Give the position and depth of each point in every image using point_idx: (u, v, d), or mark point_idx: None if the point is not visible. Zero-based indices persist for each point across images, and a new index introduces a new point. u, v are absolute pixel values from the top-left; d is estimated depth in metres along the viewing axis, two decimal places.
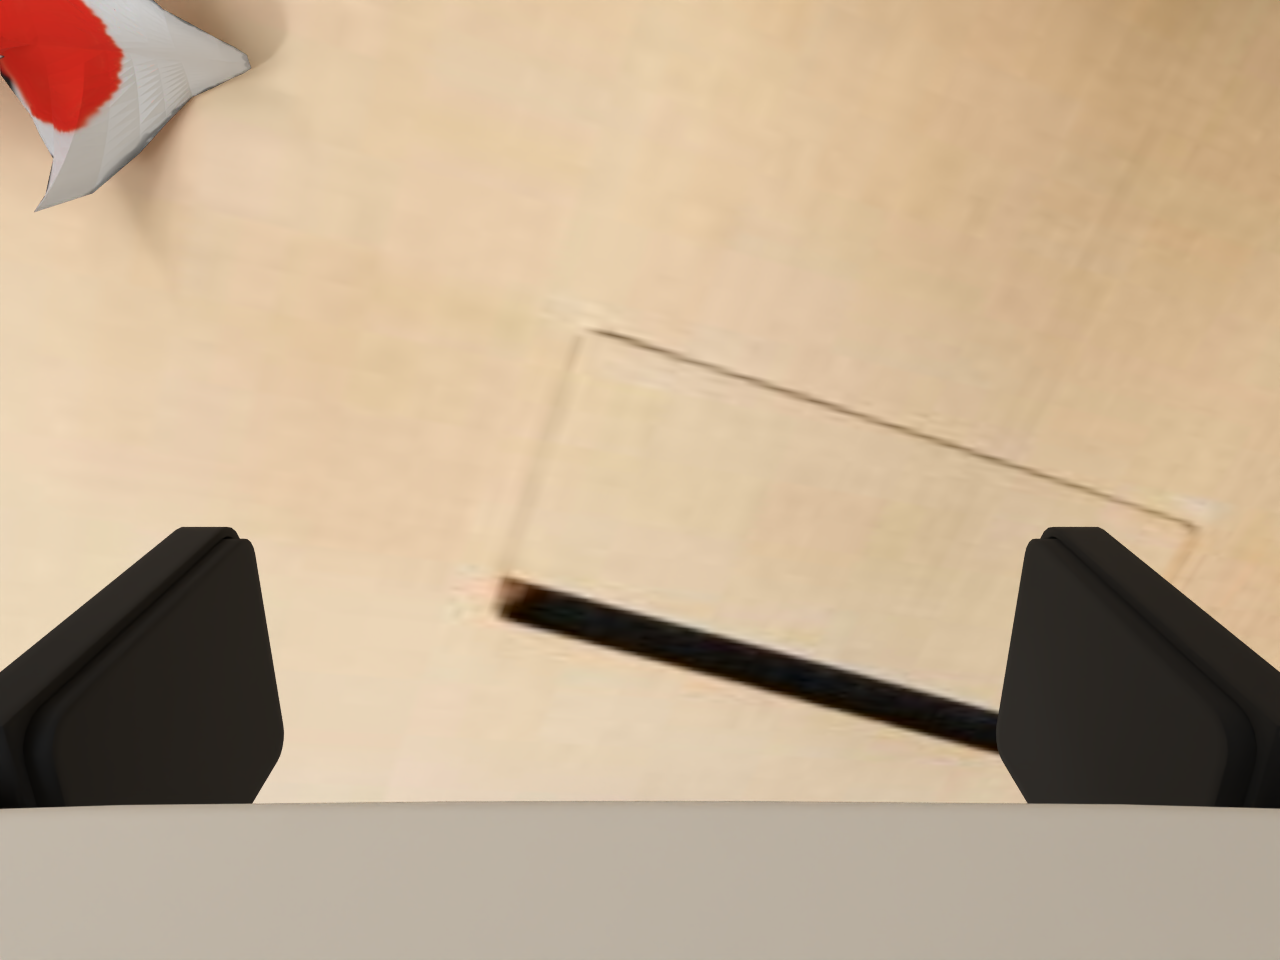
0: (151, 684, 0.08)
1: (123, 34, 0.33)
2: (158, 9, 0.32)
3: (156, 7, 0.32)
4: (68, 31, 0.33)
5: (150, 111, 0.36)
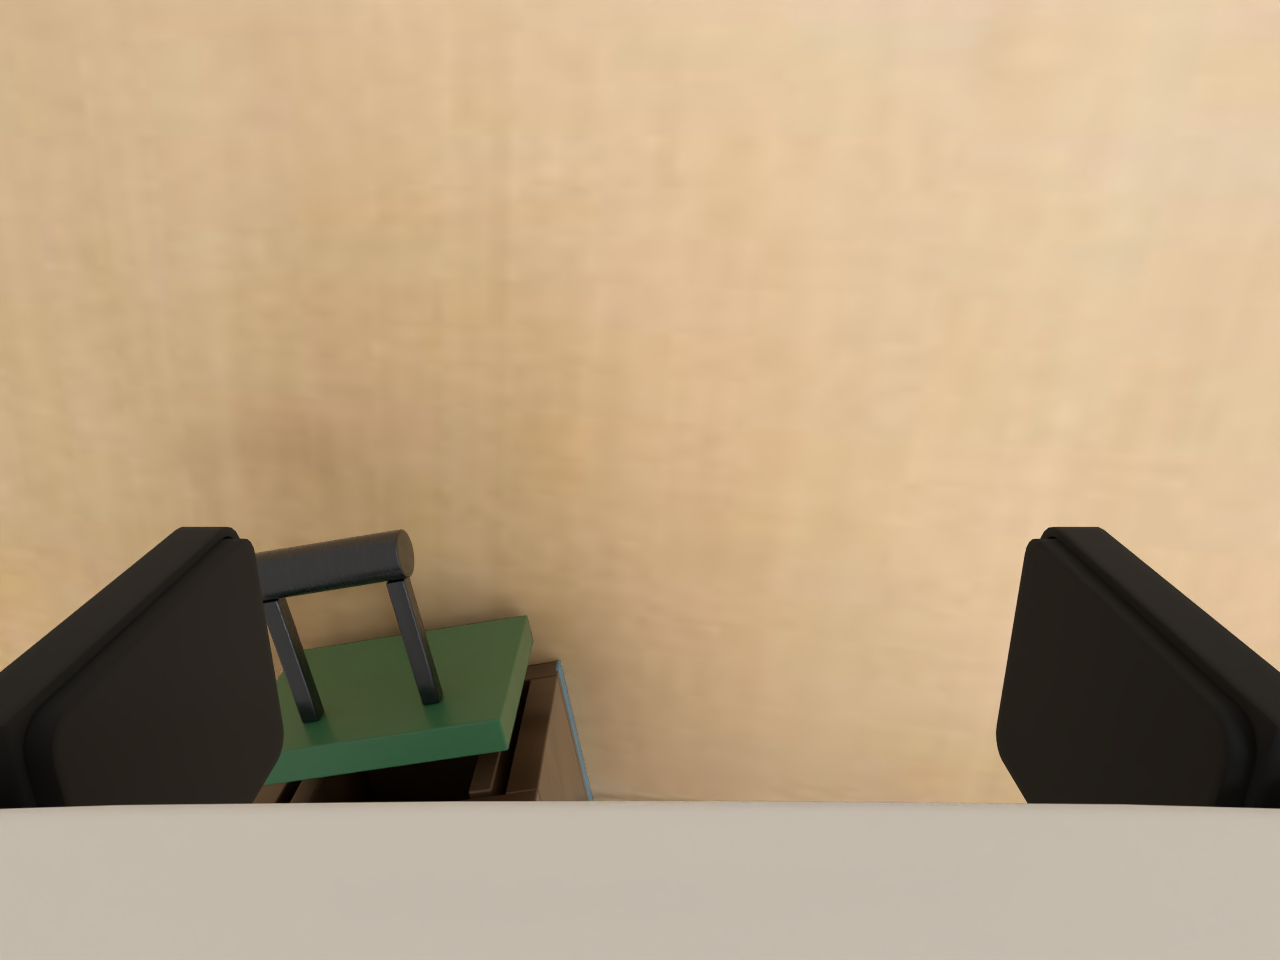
0: (151, 684, 0.08)
1: None
2: None
3: None
4: None
5: None
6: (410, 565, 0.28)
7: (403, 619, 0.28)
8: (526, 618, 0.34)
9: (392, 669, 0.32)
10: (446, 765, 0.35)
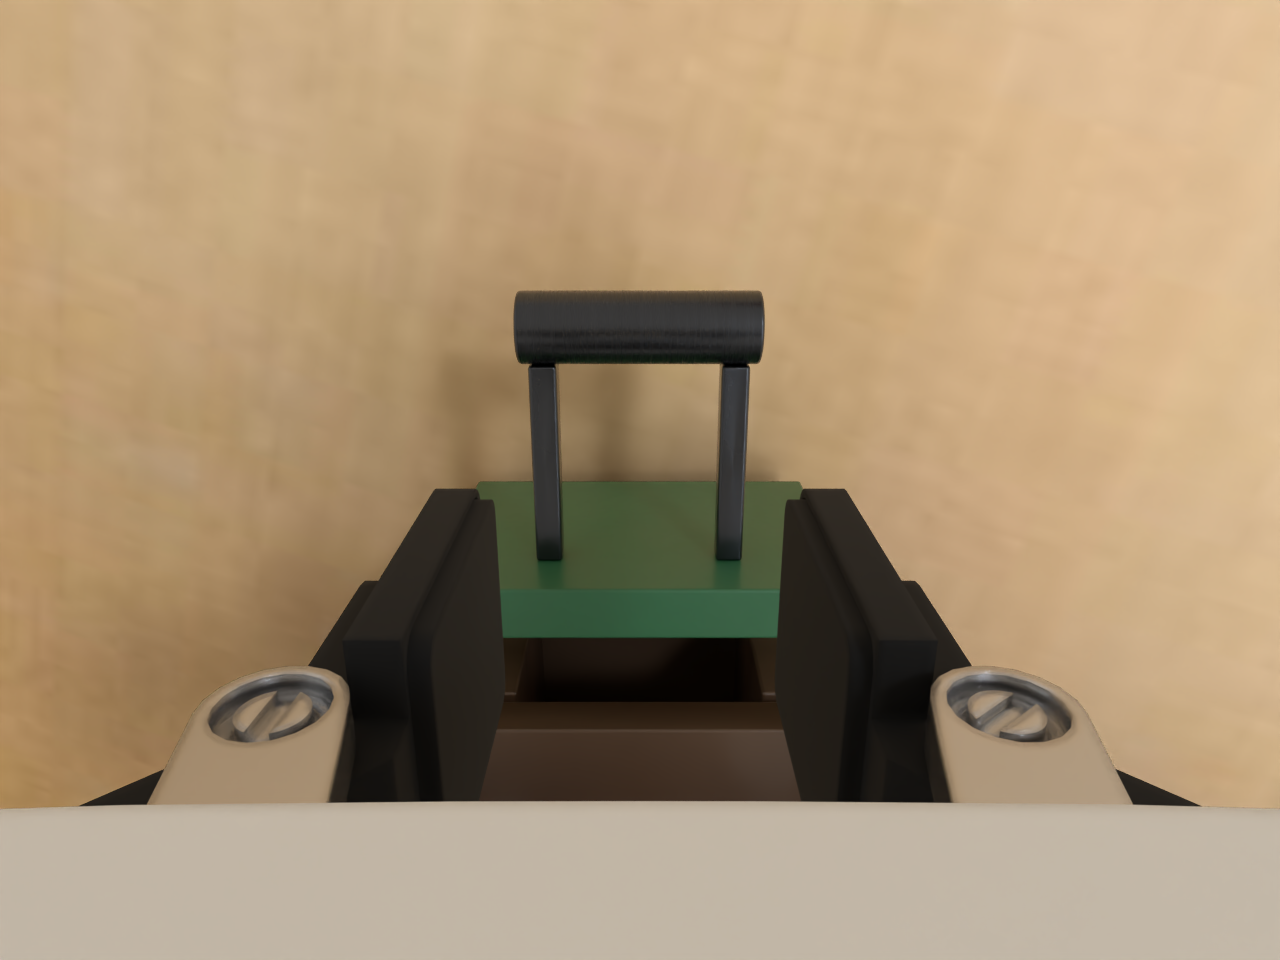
0: (462, 619, 0.09)
1: None
2: None
3: None
4: None
5: None
6: None
7: (730, 426, 0.19)
8: (800, 485, 0.25)
9: (637, 515, 0.23)
10: (650, 666, 0.26)
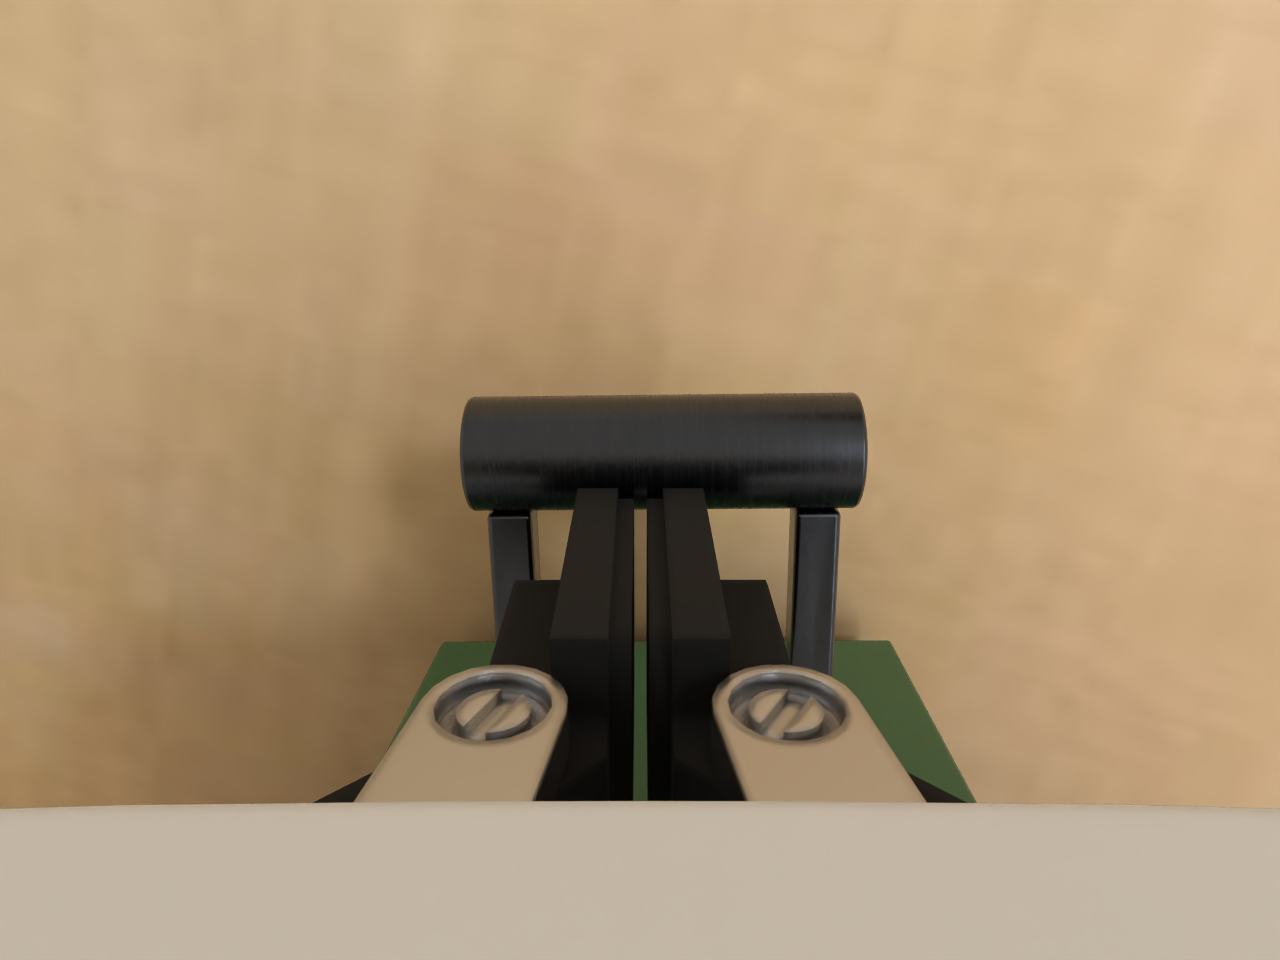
0: (632, 618, 0.09)
1: None
2: None
3: None
4: None
5: None
6: None
7: (809, 604, 0.12)
8: (892, 646, 0.18)
9: None
10: None
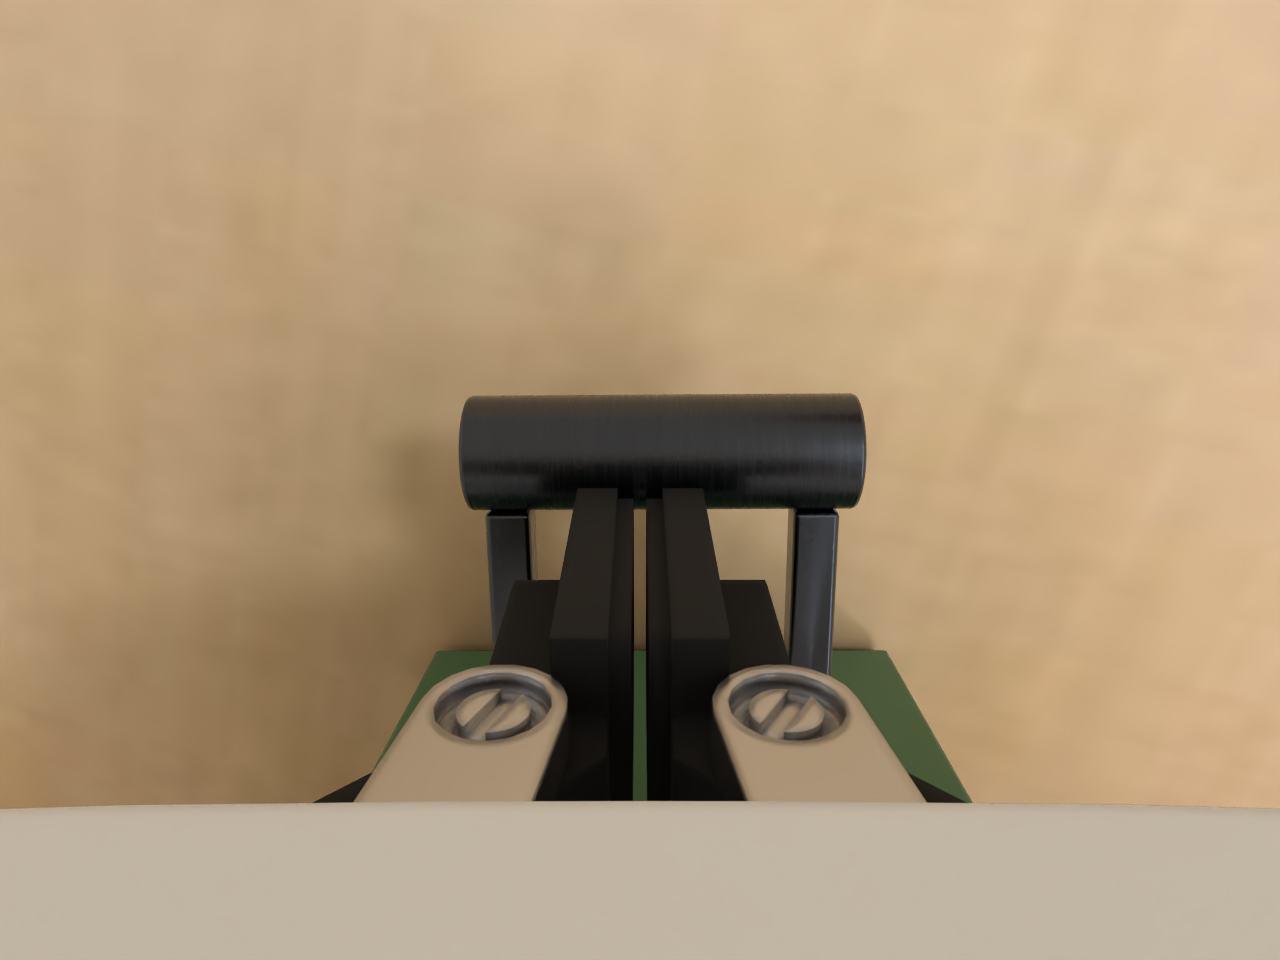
0: None
1: None
2: None
3: None
4: None
5: None
6: None
7: (807, 606, 0.12)
8: (888, 656, 0.18)
9: None
10: None
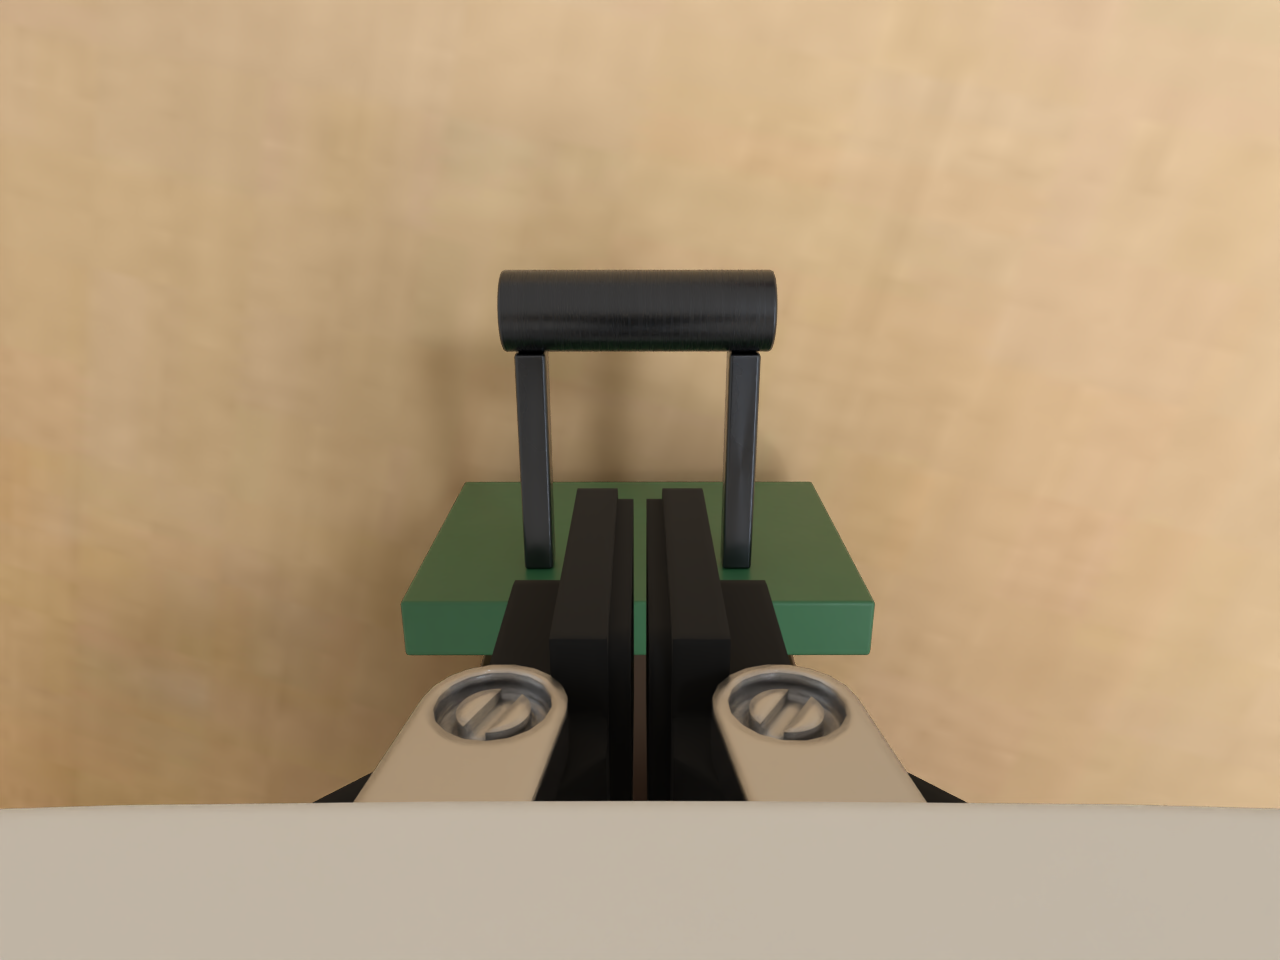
0: None
1: None
2: None
3: None
4: None
5: None
6: None
7: (739, 421, 0.17)
8: (812, 485, 0.23)
9: (637, 518, 0.21)
10: None
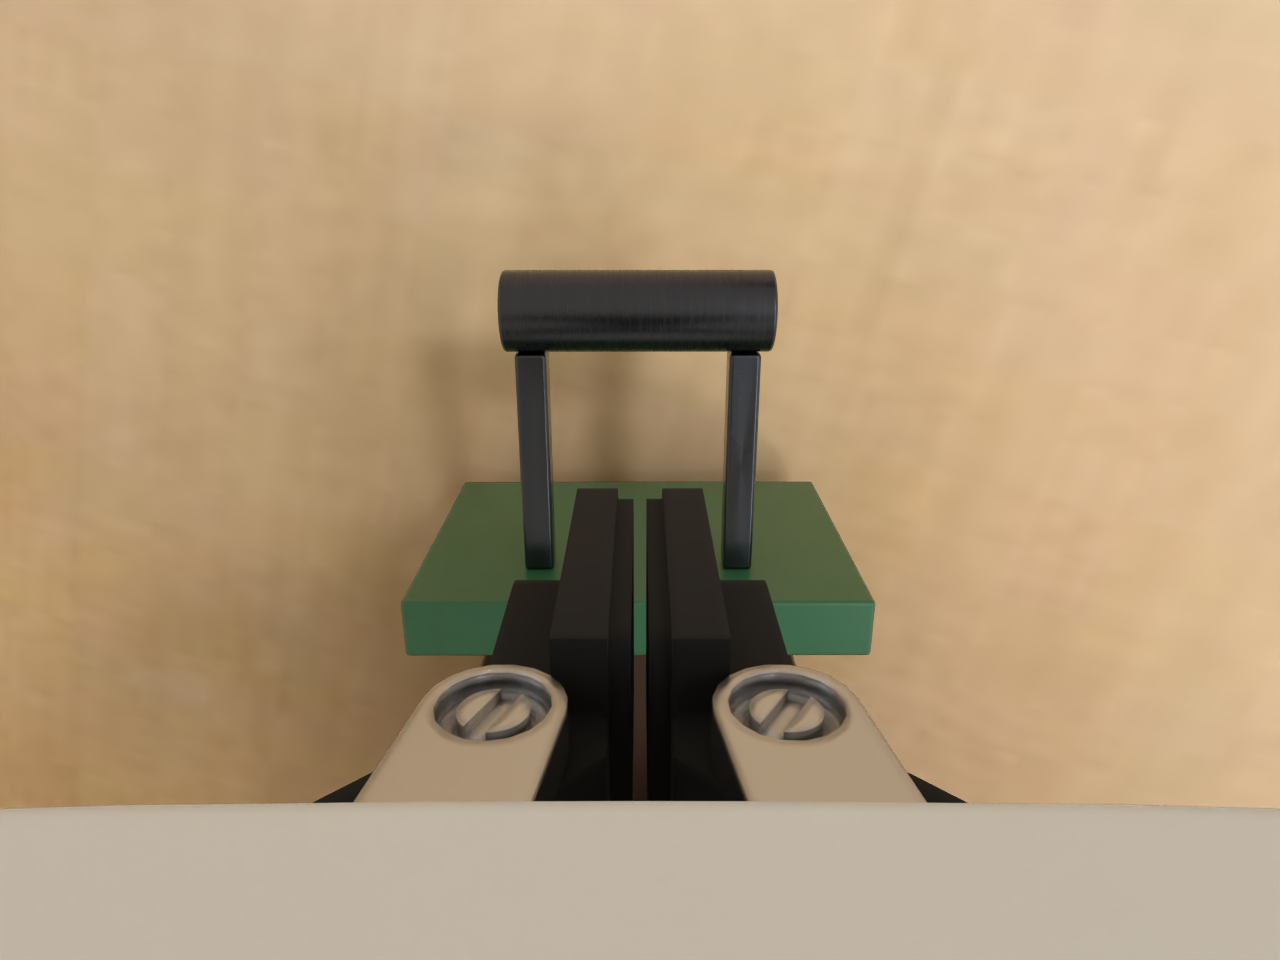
0: None
1: None
2: None
3: None
4: None
5: None
6: None
7: (739, 421, 0.17)
8: (812, 485, 0.23)
9: (637, 518, 0.21)
10: None
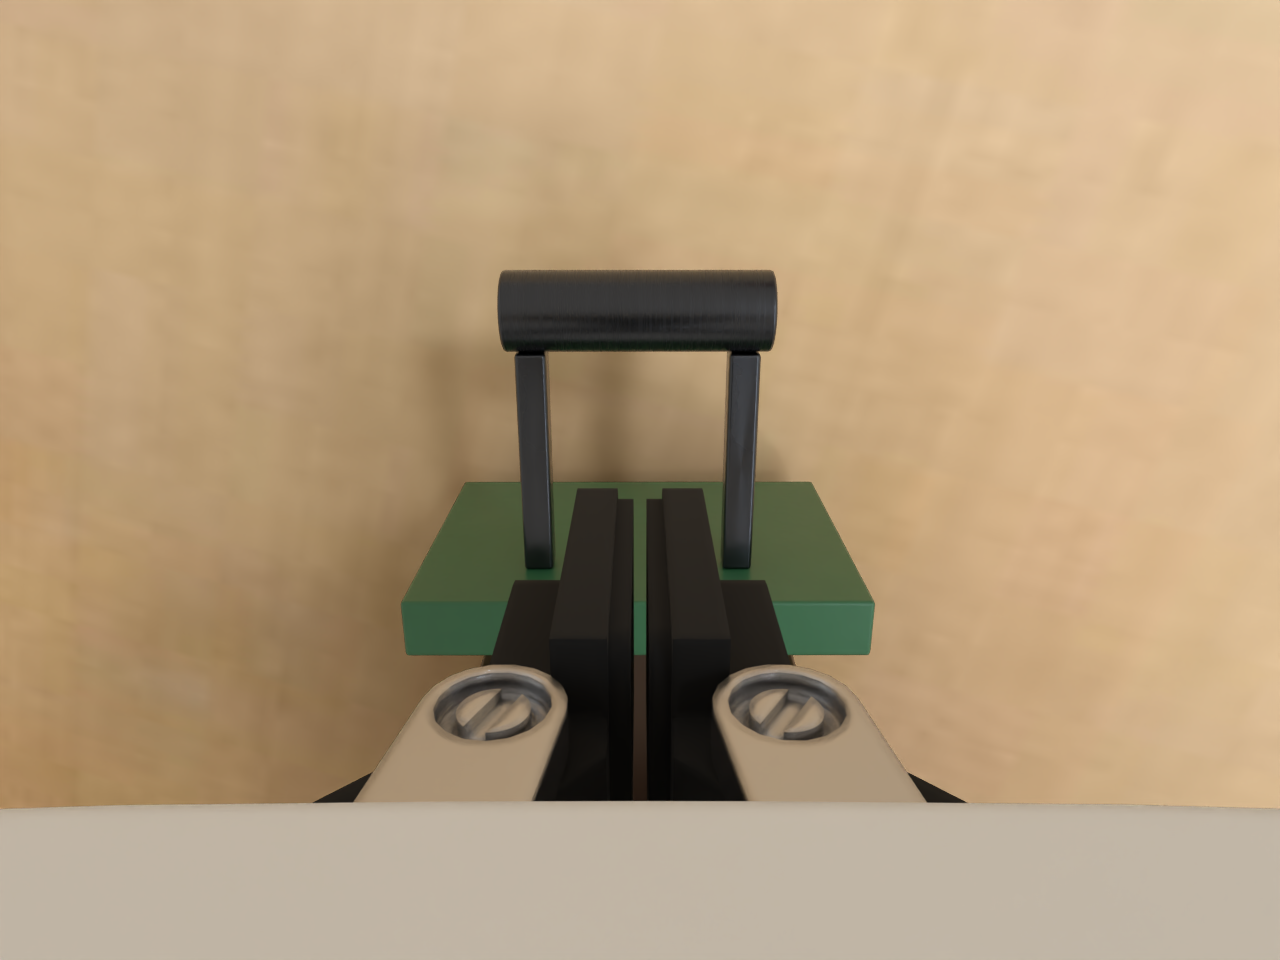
0: None
1: None
2: None
3: None
4: None
5: None
6: None
7: (739, 421, 0.17)
8: (812, 485, 0.23)
9: (637, 518, 0.21)
10: None
